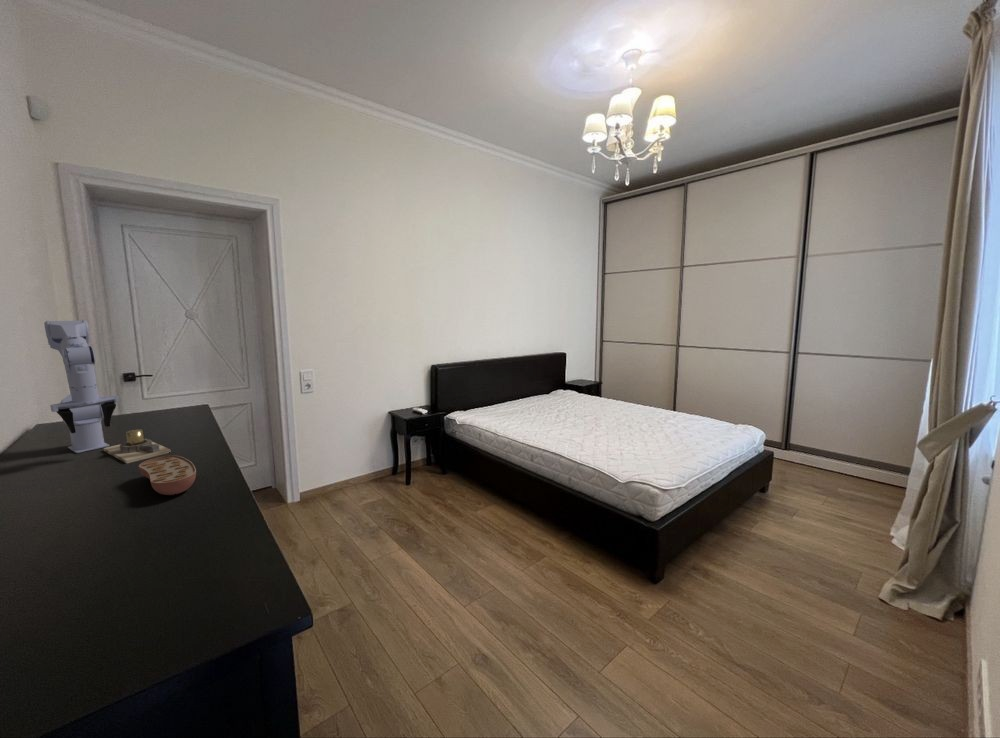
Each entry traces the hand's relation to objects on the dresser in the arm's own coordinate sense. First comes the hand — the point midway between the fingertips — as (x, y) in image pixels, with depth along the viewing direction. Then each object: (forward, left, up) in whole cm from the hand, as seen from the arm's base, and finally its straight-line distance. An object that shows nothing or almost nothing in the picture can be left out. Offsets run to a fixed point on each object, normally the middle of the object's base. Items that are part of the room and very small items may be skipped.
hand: (90, 429), depth 123 cm
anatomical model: (+43, +4, -10) cm, 44 cm away
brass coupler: (+4, +9, -8) cm, 13 cm away
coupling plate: (+4, +9, -9) cm, 14 cm away
